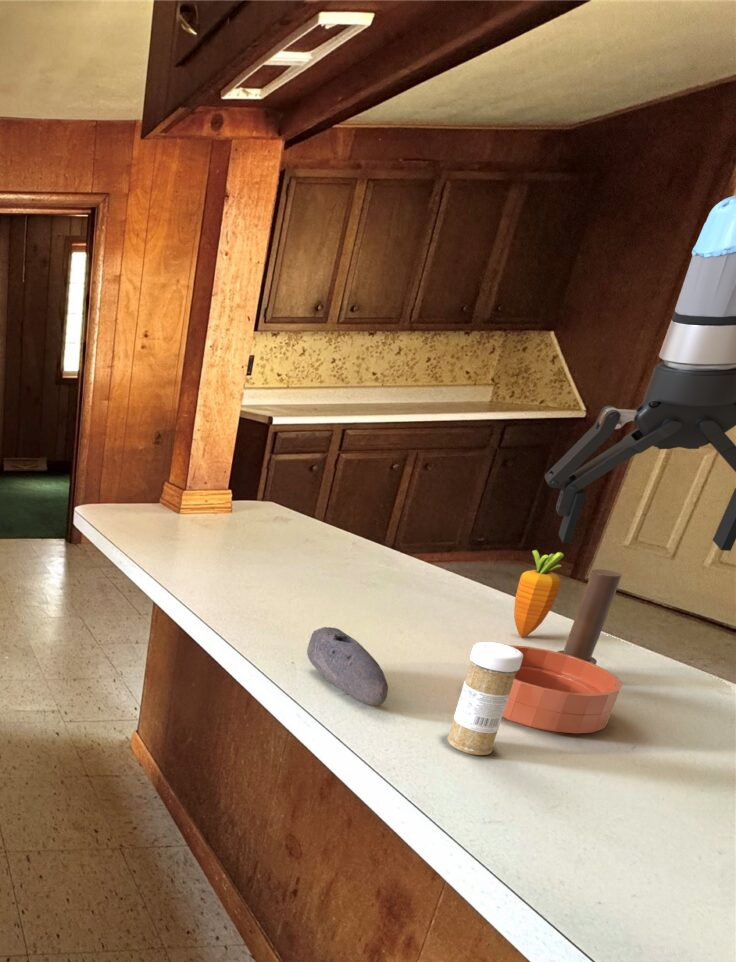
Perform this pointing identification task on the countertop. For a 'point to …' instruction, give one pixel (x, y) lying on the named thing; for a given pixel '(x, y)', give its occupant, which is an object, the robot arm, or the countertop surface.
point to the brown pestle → (592, 614)
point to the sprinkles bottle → (484, 697)
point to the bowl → (561, 693)
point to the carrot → (536, 593)
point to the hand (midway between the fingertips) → (639, 542)
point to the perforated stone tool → (347, 665)
